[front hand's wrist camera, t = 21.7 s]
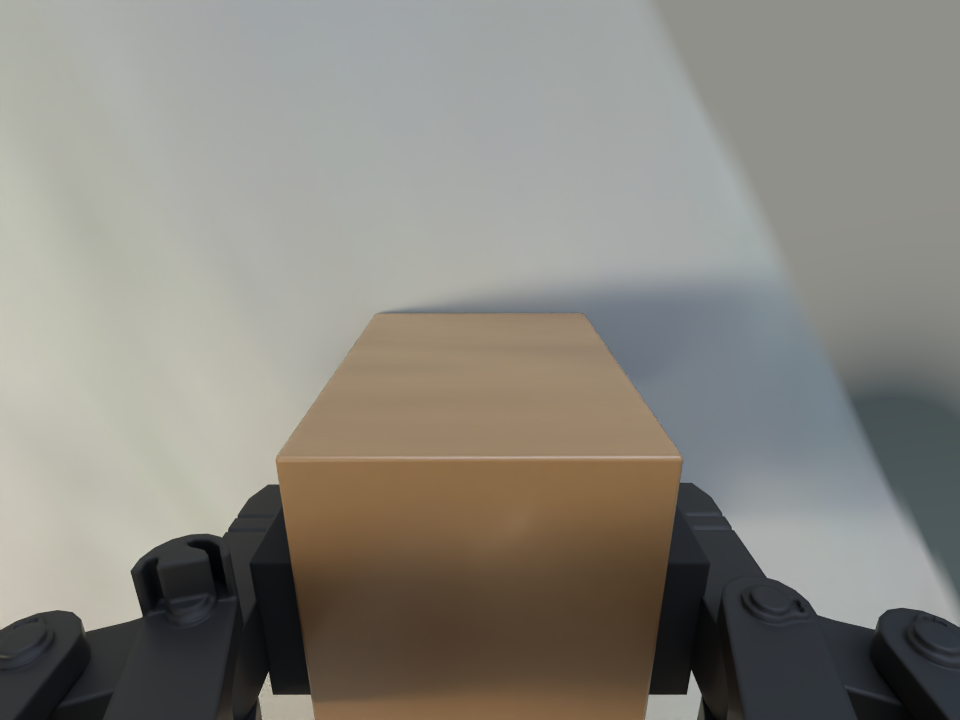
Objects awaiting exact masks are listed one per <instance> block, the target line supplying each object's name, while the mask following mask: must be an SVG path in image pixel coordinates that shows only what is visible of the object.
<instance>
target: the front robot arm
mask: <svg viewBox="0 0 960 720" xmlns="http://www.w3.org/2000/svg"><path fill="white" fill-rule="evenodd" d="M131 575H132V578H133V582H134V585H135V589H136V593H137V596H138V600H139V603H140V607H141V611H142V614H143V617H142V618H139V619H136V620H133V621H130V622H126V623H122V624H117V625H113V626H109V627H105V628H101V629H97V630H92V631H88V632H85V630H84V627H83V624H82V621H81V619H80V618H79V617H78V616H76V615H75V614H74V613H73V612H67V611H60V610H56V611H50V612H43V613H38V614H35V615H32V616H30V617H27V618H24V619H21V620H19V621H16V622H14V623H12V624H11V625H9V626H7V627H5V628H3V629H2V630H0V720H262V716H261V709H260V703H259V698H258V696H259V693H260V691H261V688H262V686H263V684H264V681H265V679H266V676H267V674H268V671H269V675H270V681H271V686H272V692H273V695H311V690H310V684H309V677H308V670H307V664H306V657H305V651H304V644H303V637H302V631H301V624H300V618H299V611H298V604H297V598H296V591H295V584H294V578H293V571H292V565H291V558H290V551H289V545H288V538H287V532H286V525H285V518H284V512H283V505H282V498H281V492H280V485H267V486H266V487H264V488H263V489H262V490H260V491H259V492H258V493H256V494H255V495H253V496H252V497H251V498H249V500H248V501H247V502H246V504H245V505H244V507H243V508H242V510H241V511H240V513H239V514H238V518H235V520H234V521H233V523H232V524H231V526H230V527H229V529H228V532H226V533H225V534H224V536H223V537H222V538H221V537H219V536H215V535H211V534H193V535H187V536H183V537H180V538H176V539H172V540H170V541H168V542H166V543H164V544H162V545H159V546H157V547H155V548H154V549H152V550H151V551H150V552H148V553H147V554H146V555H144V556H143V557H142V558H140V559H139V561H138V562H137V563H136V565H135V566H134V567H133V569H132V570H131ZM691 670H692V672H693V674H694V677H695V679H696V682H697V684H698V686H699V689H700V691H701V694H702V698H701V703H700V708H699V713H698V718H697V720H960V627H958V626H956V625H954V624H952V623H951V622H949V621H947V620H945V619H943V618H940V617H937V616H935V615H932V614H929V613H926V612H924V611H919V610H913V609H907V608H898V609H891V610H887V611H886V612H885V613H884V614H882V615H881V616H880V617H879V620H878V623H877V626H876V629H875V630H873V629H869V628H865V627H860V626H856V625H852V624H848V623H844V622H839V621H835V620H831V619H828V618H825V617H821V616H818V615H817V614H816V612H815V611H814V609H813V608H812V606H811V605H810V603H809V602H808V601H807V600H806V599H805V598H804V597H802V596H801V595H800V594H799V593H798V592H797V591H795V590H794V589H792V588H790V587H788V586H786V585H784V584H782V583H781V582H779V581H776V580H773V579H769V578H767V577H766V576H765V574H764V573H763V572H762V570H761V569H760V567H759V566H758V564H757V563H756V561H755V560H754V559H753V557H752V556H751V554H750V553H749V551H748V550H747V548H746V547H745V546H744V544H743V543H742V541H741V540H740V538H739V537H738V535H737V534H736V533H735V531H734V530H732V528H731V525H730V524H729V522H728V521H727V520H726V518H725V517H723V516H722V512H721V511H720V509H719V508H718V507H717V505H716V504H715V502H714V501H713V499H712V498H711V497H710V496H709V495H707V494H706V493H705V492H703V491H702V490H701V489H699V488H698V487H696V486H695V485H694V484H692V483H679V490H678V497H677V504H676V510H675V517H674V524H673V531H672V538H671V545H670V552H669V558H668V565H667V572H666V579H665V586H664V593H663V599H662V606H661V613H660V620H659V627H658V634H657V641H656V647H655V654H654V661H653V668H652V675H651V682H650V689H649V695H687V690H688V684H689V679H690V673H691Z"/></svg>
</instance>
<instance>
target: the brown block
mask: <svg viewBox="0 0 960 720" xmlns="http://www.w3.org/2000/svg"><path fill="white" fill-rule="evenodd" d="M682 462H683V458H682V455H681V454H680V452H679V451H678V449H677V448H676V446H675V445H674V444H673V442H672V441H671V439H670V438H669V436H668V435H667V433H666V432H665V430H664V429H663V428H662V426H661V425H660V423H659V422H658V420H657V419H656V417H655V416H654V415H653V413H652V412H651V410H650V409H649V407H648V406H647V404H646V403H645V401H644V400H643V399H642V397H641V396H640V394H639V393H638V391H637V390H636V388H635V387H634V385H633V384H632V383H631V381H630V380H629V378H628V377H627V375H626V374H625V372H624V371H623V370H622V368H621V367H620V365H619V364H618V362H617V361H616V359H615V358H614V356H613V355H612V354H611V352H610V351H609V349H608V348H607V346H606V345H605V343H604V342H603V341H602V339H601V338H600V336H599V335H598V333H597V332H596V330H595V329H594V327H593V326H592V325H591V323H590V322H589V320H588V319H587V317H586V316H585V314H583V313H400V314H375V315H374V317H373V318H372V320H371V321H370V323H369V324H368V326H367V327H366V328H365V330H364V331H363V333H362V334H361V336H360V337H359V339H358V340H357V341H356V343H355V344H354V346H353V347H352V349H351V350H350V351H349V353H348V354H347V356H346V357H345V359H344V360H343V362H342V363H341V364H340V366H339V367H338V369H337V370H336V372H335V373H334V375H333V376H332V377H331V379H330V380H329V382H328V383H327V385H326V386H325V387H324V389H323V390H322V392H321V393H320V395H319V396H318V398H317V399H316V400H315V402H314V403H313V405H312V406H311V408H310V409H309V411H308V412H307V413H306V415H305V416H304V418H303V419H302V421H301V422H300V423H299V425H298V426H297V428H296V429H295V431H294V432H293V434H292V435H291V436H290V438H289V439H288V441H287V442H286V444H285V445H284V447H283V448H282V449H281V451H280V452H279V454H278V455H277V457H276V465H277V472H278V479H279V485H280V492H281V498H282V505H283V512H284V518H285V525H286V532H287V538H288V545H289V551H290V558H291V565H292V571H293V578H294V584H295V591H296V598H297V604H298V611H299V618H300V624H301V631H302V637H303V644H304V651H305V657H306V664H307V670H308V677H309V684H310V690H311V697H312V704H313V710H314V717H315V720H645V716H646V709H647V702H648V695H649V689H650V682H651V675H652V668H653V661H654V654H655V647H656V641H657V634H658V627H659V620H660V613H661V606H662V599H663V593H664V586H665V579H666V572H667V565H668V558H669V552H670V545H671V538H672V531H673V524H674V517H675V510H676V504H677V497H678V490H679V483H680V476H681V469H682Z"/></svg>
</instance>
